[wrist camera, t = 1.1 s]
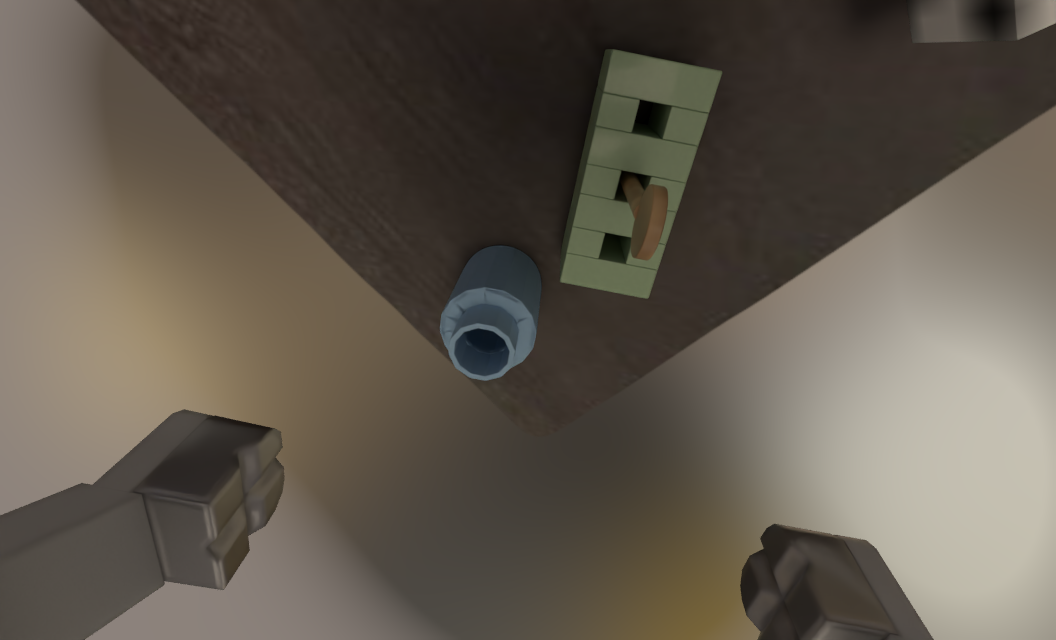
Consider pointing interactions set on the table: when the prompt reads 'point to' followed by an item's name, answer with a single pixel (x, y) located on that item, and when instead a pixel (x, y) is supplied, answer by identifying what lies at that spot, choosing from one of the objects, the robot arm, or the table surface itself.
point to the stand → (632, 165)
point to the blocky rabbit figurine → (978, 19)
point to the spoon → (645, 214)
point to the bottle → (492, 313)
